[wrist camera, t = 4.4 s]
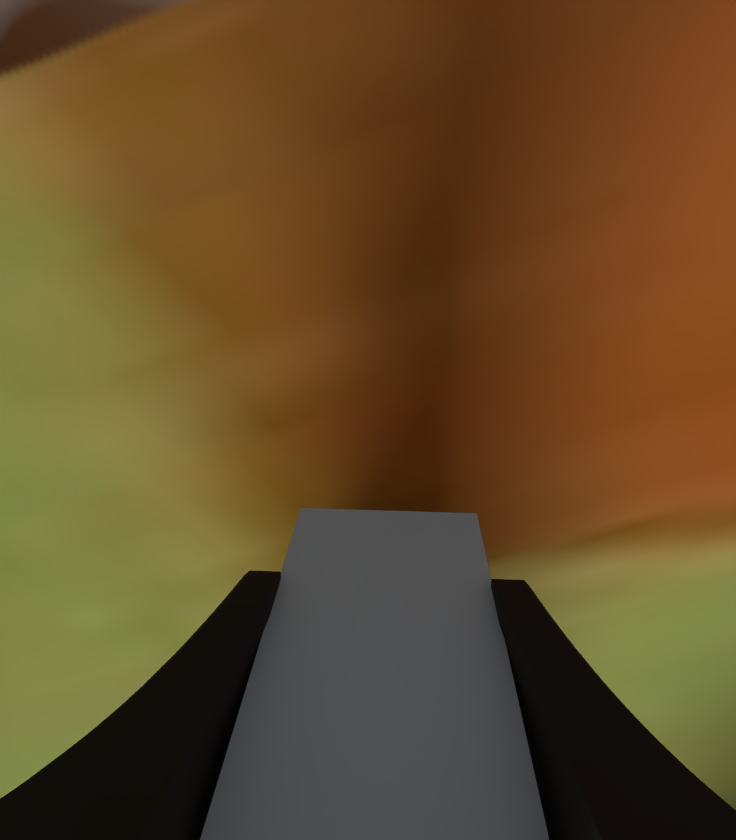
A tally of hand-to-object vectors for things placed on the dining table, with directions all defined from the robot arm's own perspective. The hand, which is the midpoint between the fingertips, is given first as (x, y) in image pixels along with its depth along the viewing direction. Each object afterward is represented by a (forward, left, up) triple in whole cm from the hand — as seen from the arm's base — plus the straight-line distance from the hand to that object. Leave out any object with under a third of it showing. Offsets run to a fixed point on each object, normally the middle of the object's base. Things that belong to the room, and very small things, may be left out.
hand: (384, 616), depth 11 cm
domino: (0, 0, -2) cm, 3 cm away
